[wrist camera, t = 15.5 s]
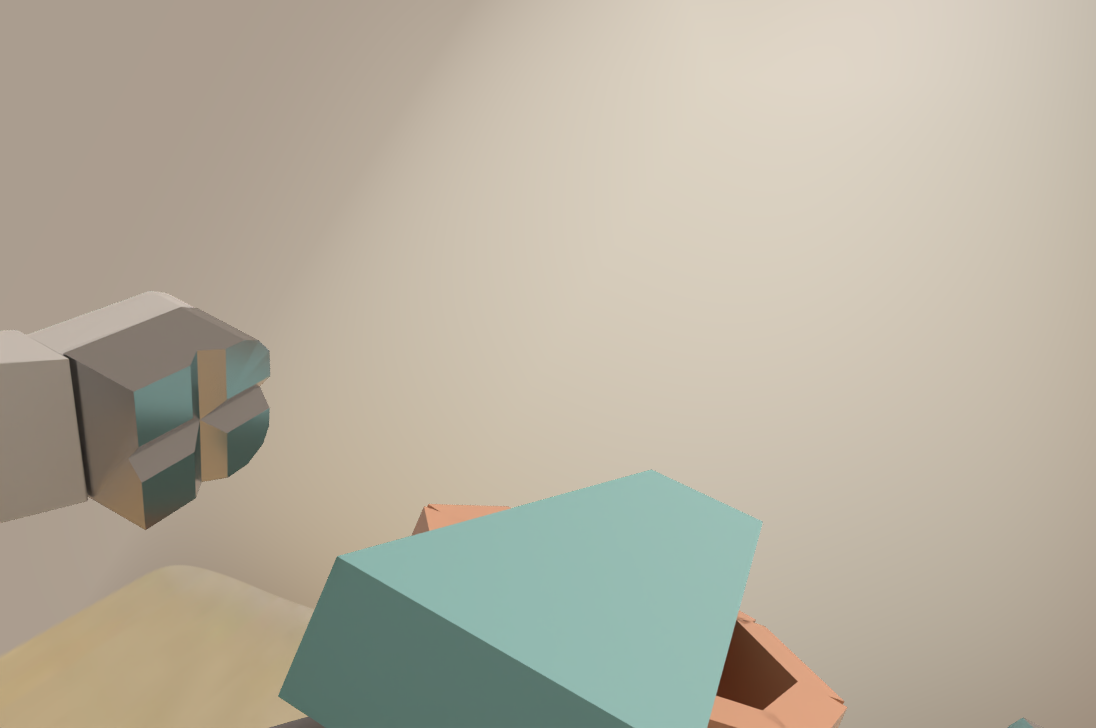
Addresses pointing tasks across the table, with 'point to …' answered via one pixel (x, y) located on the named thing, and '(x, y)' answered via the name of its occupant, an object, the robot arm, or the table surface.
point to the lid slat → (535, 616)
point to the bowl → (728, 663)
